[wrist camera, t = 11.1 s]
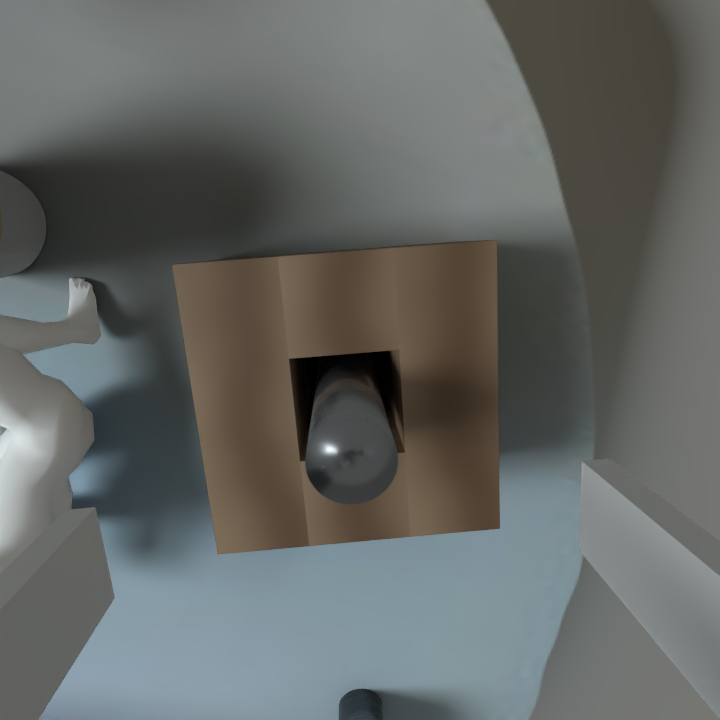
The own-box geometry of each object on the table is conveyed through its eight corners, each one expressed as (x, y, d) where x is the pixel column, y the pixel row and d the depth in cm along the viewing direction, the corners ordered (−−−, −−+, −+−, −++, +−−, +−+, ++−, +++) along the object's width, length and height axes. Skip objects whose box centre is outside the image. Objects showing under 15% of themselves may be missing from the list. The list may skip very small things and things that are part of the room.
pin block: (246, 479, 32) (217, 554, 24) (216, 259, 29) (171, 264, 21) (460, 460, 32) (499, 528, 24) (454, 241, 29) (496, 240, 21)
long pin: (321, 392, 31) (309, 508, 17) (317, 342, 30) (300, 422, 16) (372, 388, 31) (400, 500, 17) (369, 338, 30) (395, 413, 17)
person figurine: (-344, 339, 18) (-147, 774, 19) (17, 232, 20) (177, 625, 21) (-92, 351, 31) (19, 611, 32) (112, 285, 33) (210, 529, 34)
